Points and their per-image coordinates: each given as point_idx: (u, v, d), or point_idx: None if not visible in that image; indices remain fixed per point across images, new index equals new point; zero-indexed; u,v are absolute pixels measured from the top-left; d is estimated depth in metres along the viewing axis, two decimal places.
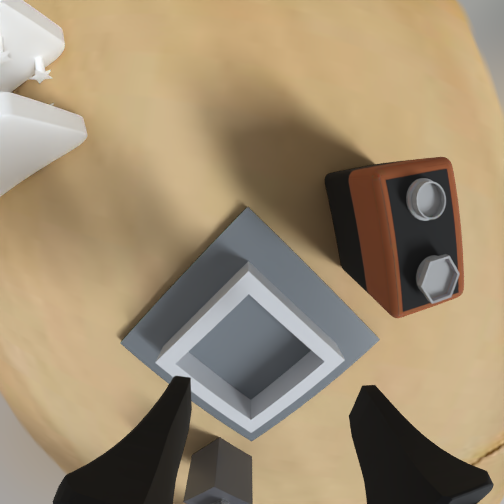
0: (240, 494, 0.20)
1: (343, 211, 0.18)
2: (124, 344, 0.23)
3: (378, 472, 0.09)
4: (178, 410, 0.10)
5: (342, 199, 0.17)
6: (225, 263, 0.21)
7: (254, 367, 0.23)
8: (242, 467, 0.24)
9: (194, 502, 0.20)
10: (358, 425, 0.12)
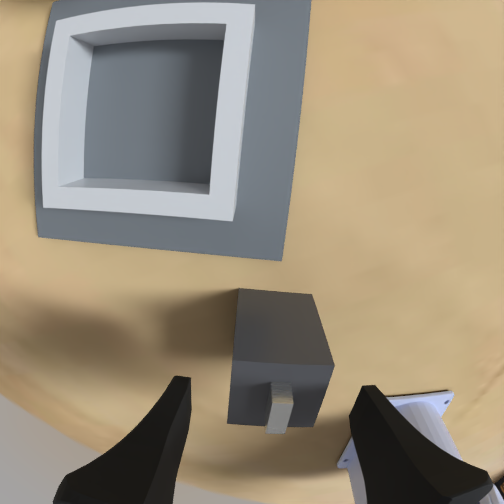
0: (300, 356, 0.12)
1: None
2: (41, 234, 0.16)
3: (378, 472, 0.09)
4: (178, 410, 0.10)
5: None
6: None
7: (177, 130, 0.14)
8: (295, 314, 0.15)
9: (241, 415, 0.13)
10: (358, 425, 0.12)
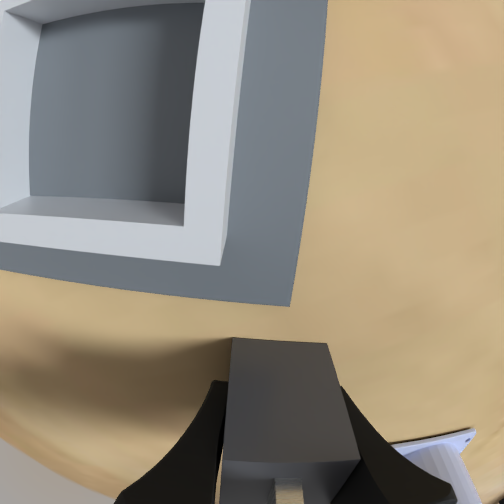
0: (315, 447, 0.08)
1: None
2: None
3: None
4: (223, 415, 0.10)
5: None
6: None
7: (144, 129, 0.10)
8: (307, 377, 0.11)
9: (237, 503, 0.09)
10: None
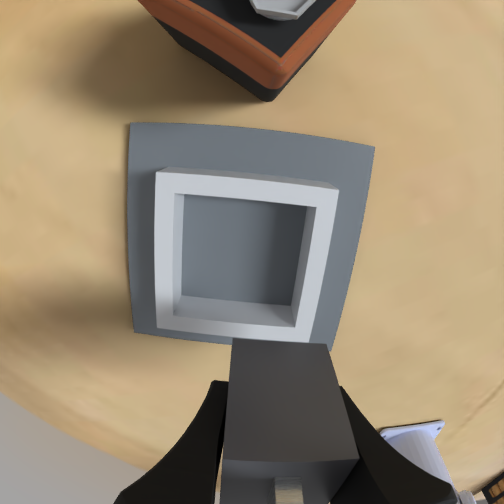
0: (314, 447, 0.08)
1: (192, 45, 0.12)
2: (137, 330, 0.21)
3: None
4: (223, 415, 0.10)
5: (179, 36, 0.12)
6: (151, 185, 0.18)
7: (263, 268, 0.20)
8: (306, 377, 0.11)
9: (237, 503, 0.09)
10: None
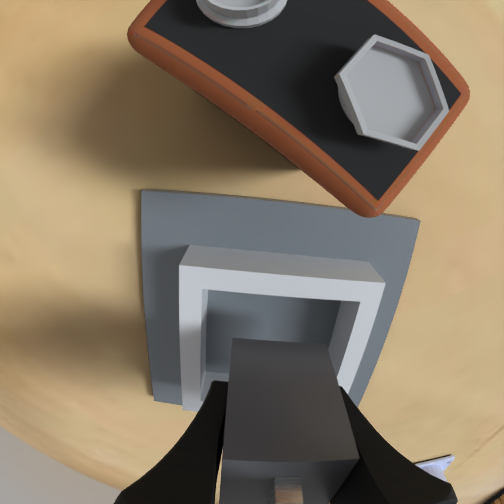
0: (314, 447, 0.08)
1: None
2: (158, 400, 0.20)
3: None
4: (223, 415, 0.10)
5: None
6: (170, 264, 0.16)
7: None
8: (307, 377, 0.11)
9: (236, 503, 0.09)
10: None
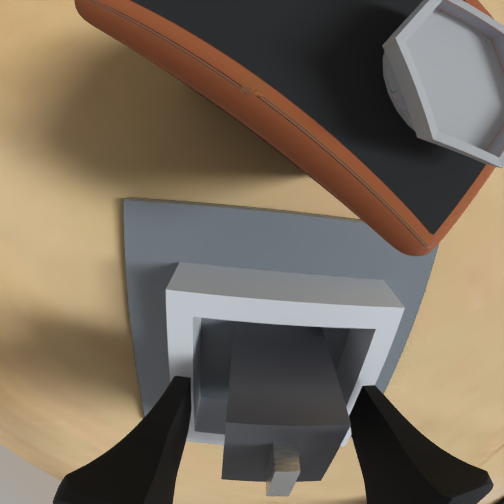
0: (309, 413, 0.09)
1: None
2: None
3: (378, 472, 0.09)
4: (178, 410, 0.10)
5: (192, 88, 0.08)
6: (158, 284, 0.14)
7: None
8: (303, 353, 0.12)
9: (238, 472, 0.10)
10: (358, 425, 0.12)
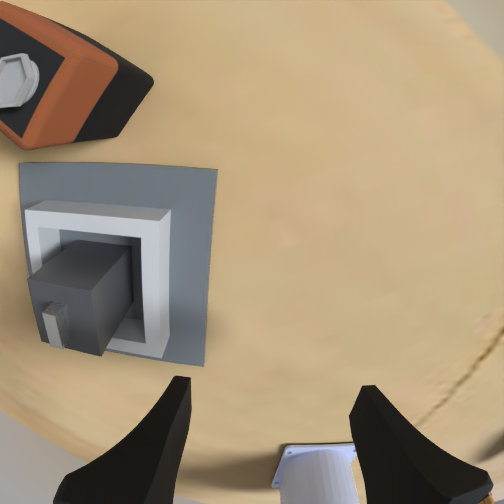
0: (72, 281, 0.14)
1: None
2: None
3: (378, 472, 0.09)
4: (178, 410, 0.10)
5: None
6: None
7: None
8: (101, 257, 0.17)
9: (47, 333, 0.15)
10: (358, 425, 0.12)
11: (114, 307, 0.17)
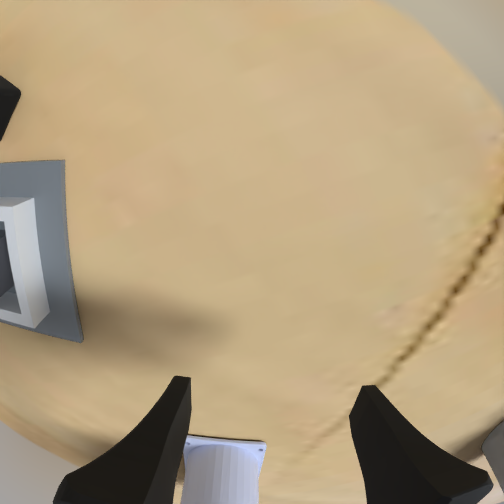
0: None
1: None
2: None
3: (378, 472, 0.09)
4: (178, 410, 0.10)
5: None
6: None
7: None
8: None
9: None
10: (358, 425, 0.12)
11: None
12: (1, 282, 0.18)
